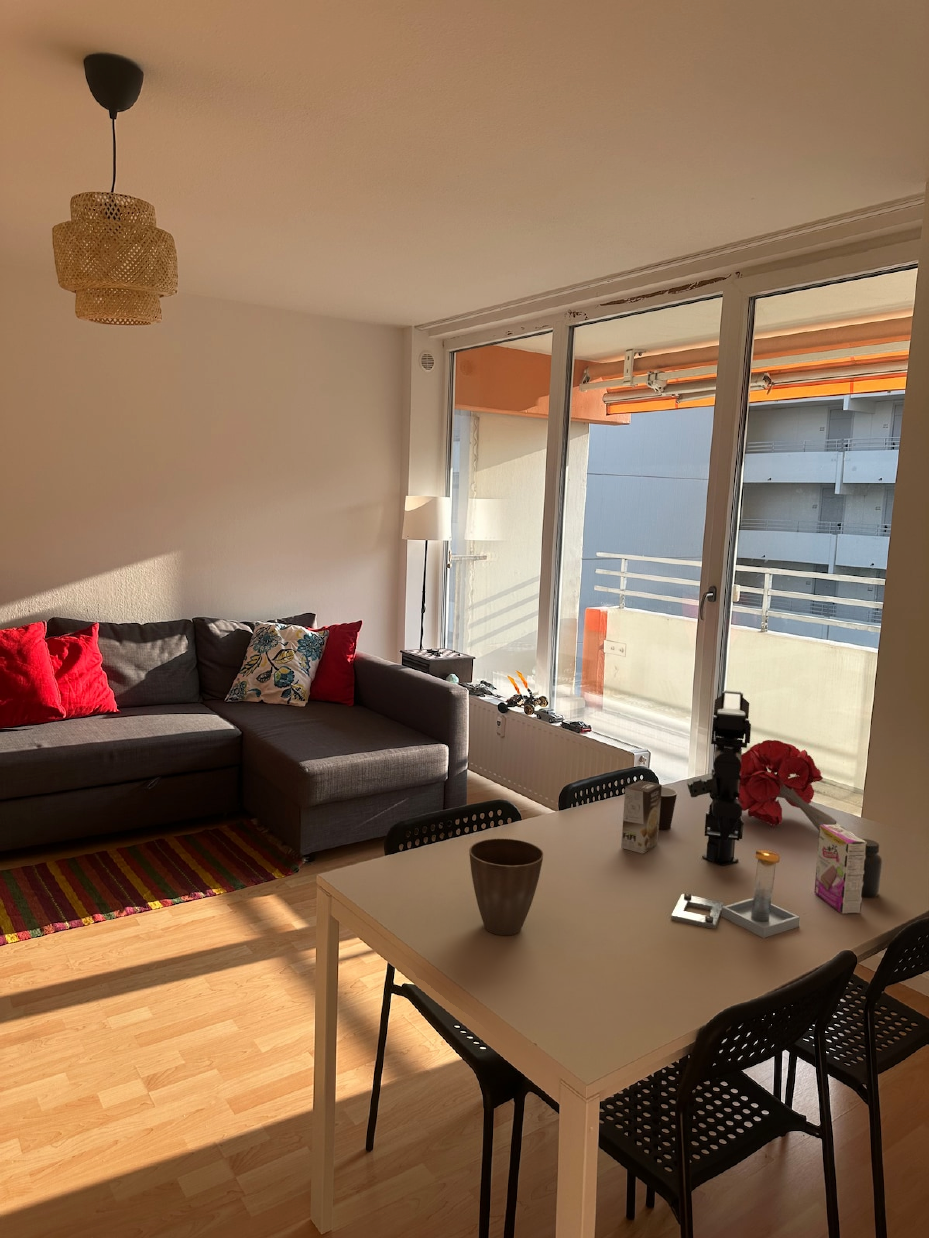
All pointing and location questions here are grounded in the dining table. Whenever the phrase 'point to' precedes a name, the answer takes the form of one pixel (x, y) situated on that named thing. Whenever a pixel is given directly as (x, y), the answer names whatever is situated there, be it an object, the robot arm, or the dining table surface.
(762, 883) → the orange capped tube
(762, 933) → the tray
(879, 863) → the supplement bottle
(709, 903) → the plate
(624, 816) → the coffee box
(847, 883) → the candy bar box
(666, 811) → the coffee mug
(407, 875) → the dining table surface
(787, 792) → the bouquet
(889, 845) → the dining table surface
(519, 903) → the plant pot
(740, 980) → the dining table surface
